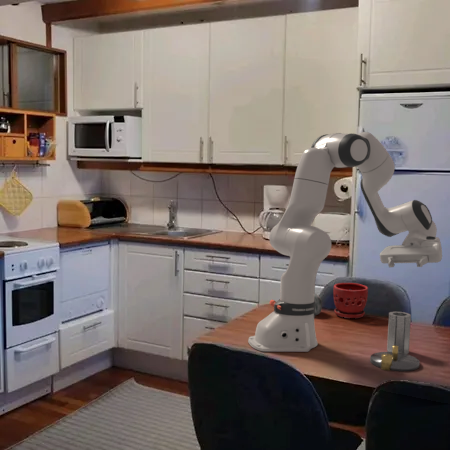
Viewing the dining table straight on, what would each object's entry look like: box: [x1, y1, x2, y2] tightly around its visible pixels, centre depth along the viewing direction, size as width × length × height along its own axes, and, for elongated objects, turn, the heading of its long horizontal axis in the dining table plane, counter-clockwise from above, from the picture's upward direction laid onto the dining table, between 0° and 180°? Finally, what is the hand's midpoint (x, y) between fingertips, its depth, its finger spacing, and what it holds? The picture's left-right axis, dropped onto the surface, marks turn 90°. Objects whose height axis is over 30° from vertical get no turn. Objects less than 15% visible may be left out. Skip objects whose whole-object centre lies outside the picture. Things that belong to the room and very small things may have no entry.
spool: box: [314, 293, 323, 316], centre depth 235 cm, size 14×10×10 cm
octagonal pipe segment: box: [386, 311, 412, 355], centre depth 187 cm, size 6×6×12 cm
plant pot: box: [332, 282, 369, 319], centre depth 231 cm, size 13×13×12 cm
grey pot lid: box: [369, 345, 420, 372], centre depth 176 cm, size 14×14×5 cm
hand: (404, 265), depth 196 cm, fingers open, 8 cm apart
